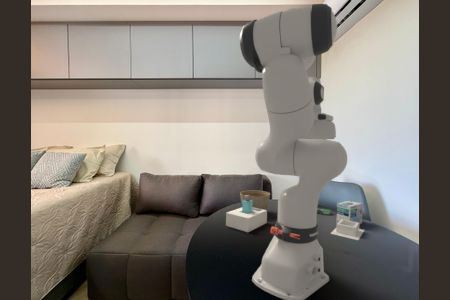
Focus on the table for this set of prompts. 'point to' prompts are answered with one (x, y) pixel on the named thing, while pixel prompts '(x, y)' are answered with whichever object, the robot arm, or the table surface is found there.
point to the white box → (246, 219)
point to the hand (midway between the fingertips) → (309, 150)
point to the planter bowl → (257, 198)
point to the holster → (348, 229)
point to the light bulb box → (349, 211)
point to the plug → (247, 205)
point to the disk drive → (323, 211)
